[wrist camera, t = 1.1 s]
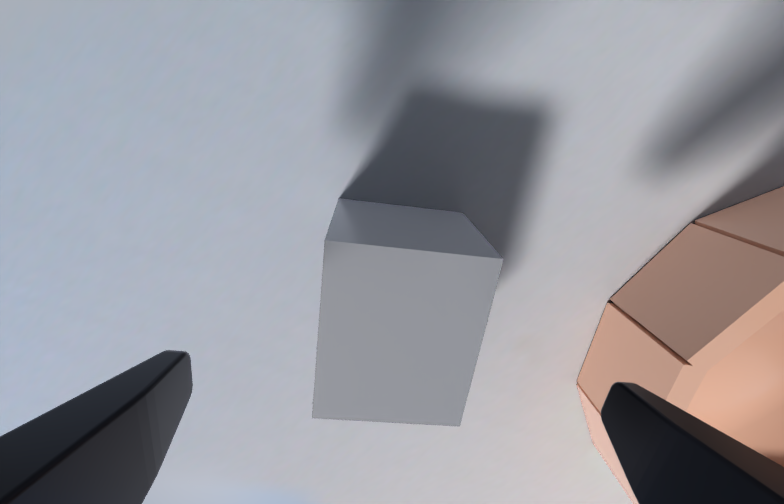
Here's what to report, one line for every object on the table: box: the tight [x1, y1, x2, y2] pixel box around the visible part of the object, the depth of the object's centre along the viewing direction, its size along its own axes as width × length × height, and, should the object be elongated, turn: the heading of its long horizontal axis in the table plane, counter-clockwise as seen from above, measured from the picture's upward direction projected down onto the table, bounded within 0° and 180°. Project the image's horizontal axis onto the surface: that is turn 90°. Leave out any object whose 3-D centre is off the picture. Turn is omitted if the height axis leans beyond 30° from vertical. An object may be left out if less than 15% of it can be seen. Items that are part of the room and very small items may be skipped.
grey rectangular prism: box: [312, 198, 504, 426], centre depth 11 cm, size 4×5×4 cm
